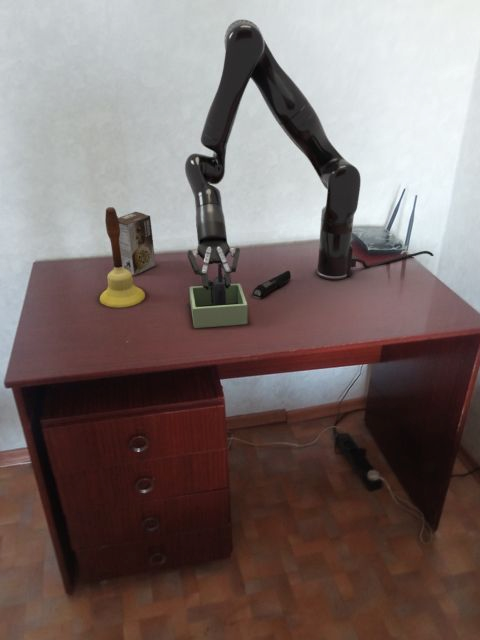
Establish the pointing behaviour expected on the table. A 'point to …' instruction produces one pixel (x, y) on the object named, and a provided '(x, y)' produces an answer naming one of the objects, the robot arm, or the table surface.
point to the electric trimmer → (271, 284)
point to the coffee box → (136, 242)
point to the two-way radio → (218, 289)
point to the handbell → (118, 271)
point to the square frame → (218, 307)
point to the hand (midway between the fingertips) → (217, 287)
